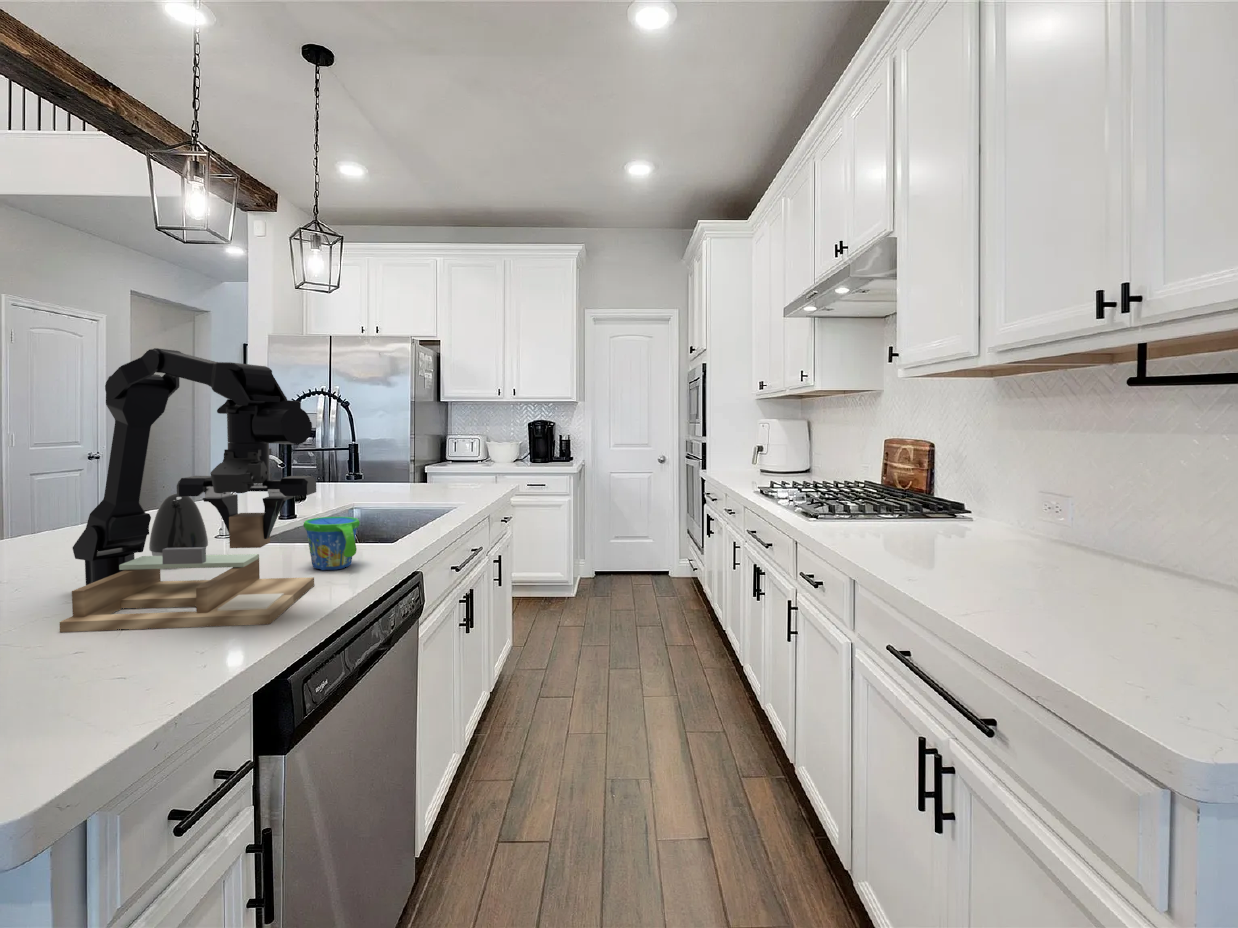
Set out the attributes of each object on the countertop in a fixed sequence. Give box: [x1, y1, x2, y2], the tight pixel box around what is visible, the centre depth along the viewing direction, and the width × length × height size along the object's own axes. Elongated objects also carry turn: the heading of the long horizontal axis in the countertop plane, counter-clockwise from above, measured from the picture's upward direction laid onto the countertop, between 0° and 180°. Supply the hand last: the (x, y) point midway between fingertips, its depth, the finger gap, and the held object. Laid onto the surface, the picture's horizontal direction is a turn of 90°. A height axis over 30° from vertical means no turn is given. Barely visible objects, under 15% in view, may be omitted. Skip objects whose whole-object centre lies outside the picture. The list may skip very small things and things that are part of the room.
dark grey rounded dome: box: [148, 493, 209, 556], centre depth 131 cm, size 10×10×15 cm
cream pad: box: [218, 593, 284, 611], centre depth 100 cm, size 7×8×1 cm
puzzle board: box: [59, 558, 315, 633], centre depth 103 cm, size 28×23×6 cm
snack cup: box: [303, 516, 360, 571], centre depth 131 cm, size 16×10×10 cm
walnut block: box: [228, 512, 271, 549], centre depth 99 cm, size 4×4×5 cm
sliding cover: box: [119, 547, 260, 570], centre depth 108 cm, size 19×7×3 cm, turn 101°
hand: (250, 538), depth 100 cm, fingers closed on walnut block, 4 cm apart
